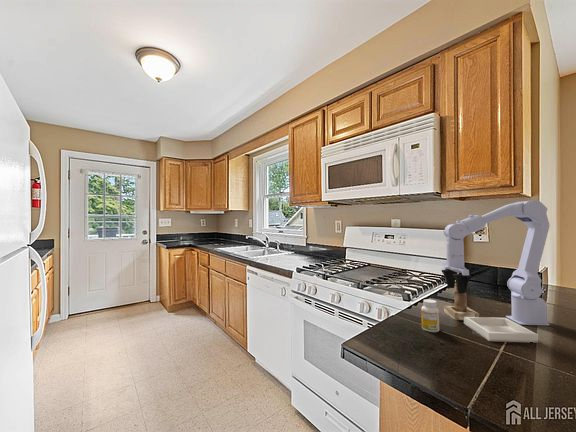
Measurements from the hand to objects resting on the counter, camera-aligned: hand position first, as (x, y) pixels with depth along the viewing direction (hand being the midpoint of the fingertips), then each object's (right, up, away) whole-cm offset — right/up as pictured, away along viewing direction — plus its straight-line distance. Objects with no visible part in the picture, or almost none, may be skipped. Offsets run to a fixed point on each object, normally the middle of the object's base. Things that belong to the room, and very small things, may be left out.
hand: (456, 290), depth 104 cm
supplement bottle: (-16, -10, -11) cm, 22 cm away
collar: (+2, -10, +1) cm, 10 cm away
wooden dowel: (+2, -10, +1) cm, 10 cm away
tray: (+5, -10, -14) cm, 18 cm away
